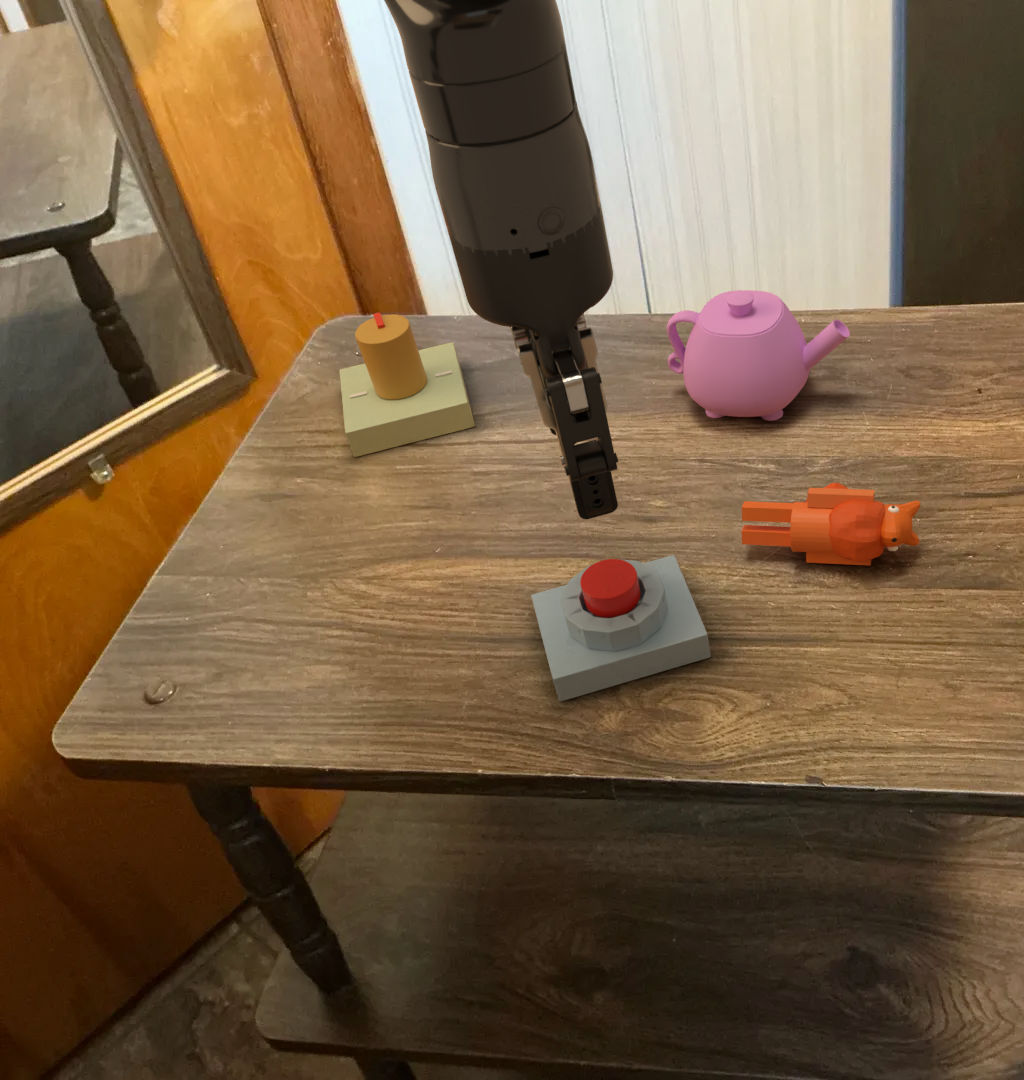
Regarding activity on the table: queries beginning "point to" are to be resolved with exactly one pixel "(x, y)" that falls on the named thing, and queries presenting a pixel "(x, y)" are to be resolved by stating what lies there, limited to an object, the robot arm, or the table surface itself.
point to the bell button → (610, 588)
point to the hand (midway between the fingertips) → (582, 469)
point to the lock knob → (391, 356)
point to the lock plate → (406, 405)
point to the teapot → (747, 354)
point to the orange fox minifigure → (833, 525)
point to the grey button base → (620, 632)
